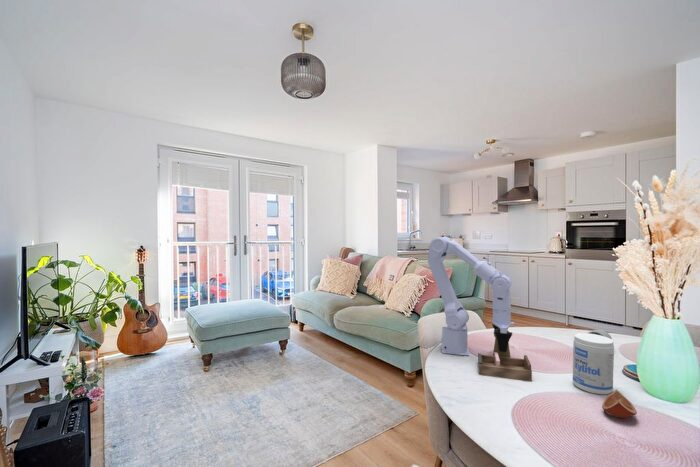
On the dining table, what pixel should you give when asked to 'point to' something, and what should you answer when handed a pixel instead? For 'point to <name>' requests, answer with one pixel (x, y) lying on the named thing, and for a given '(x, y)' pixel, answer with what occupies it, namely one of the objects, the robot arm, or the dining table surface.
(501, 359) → the open box
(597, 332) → the ceramic mug
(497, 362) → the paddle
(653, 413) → the dining table surface
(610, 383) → the supplement tub
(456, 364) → the dining table surface
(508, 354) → the olive bulbous piece
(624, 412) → the brown wedge piece
